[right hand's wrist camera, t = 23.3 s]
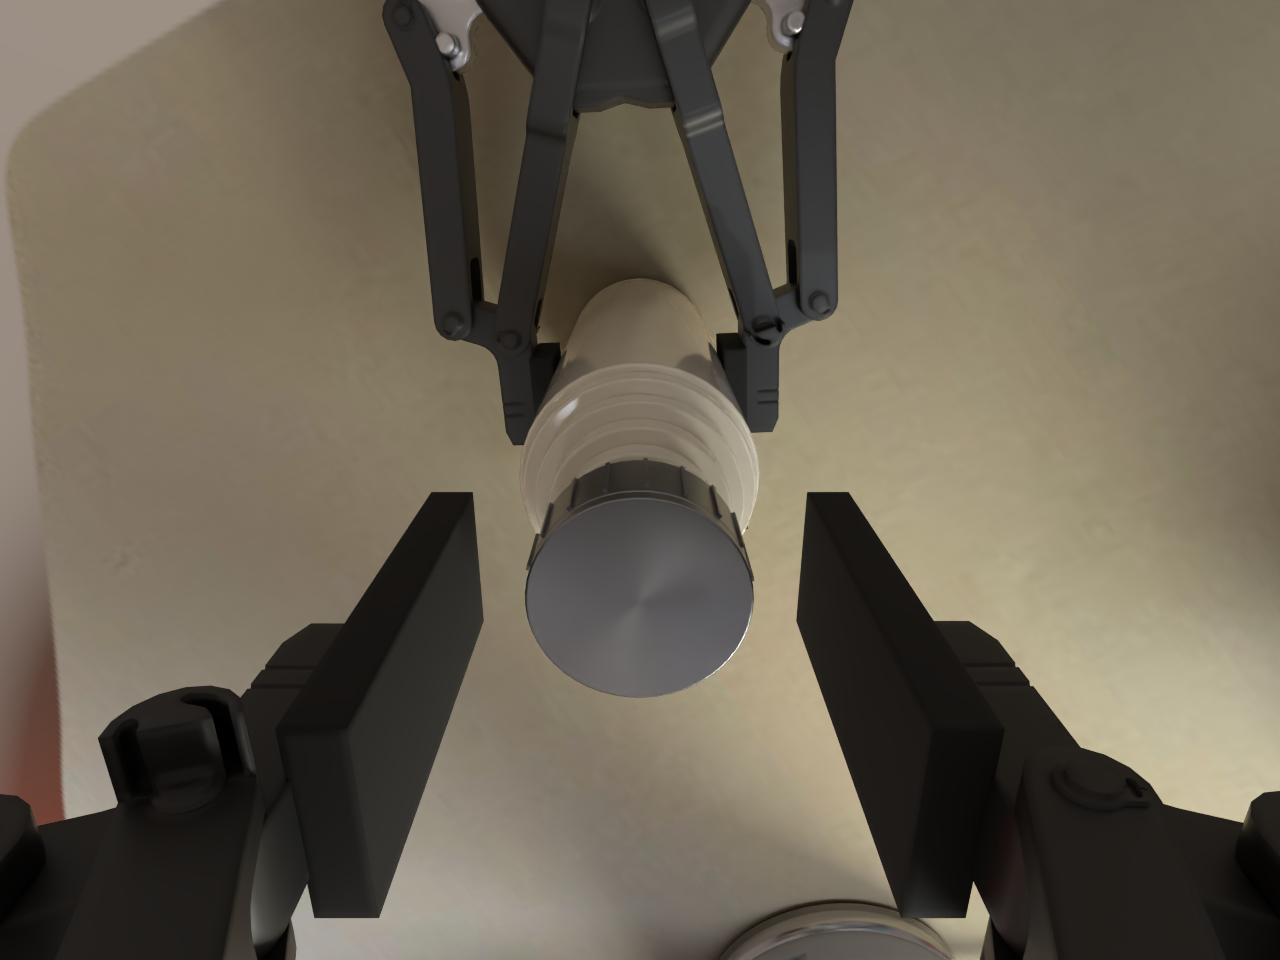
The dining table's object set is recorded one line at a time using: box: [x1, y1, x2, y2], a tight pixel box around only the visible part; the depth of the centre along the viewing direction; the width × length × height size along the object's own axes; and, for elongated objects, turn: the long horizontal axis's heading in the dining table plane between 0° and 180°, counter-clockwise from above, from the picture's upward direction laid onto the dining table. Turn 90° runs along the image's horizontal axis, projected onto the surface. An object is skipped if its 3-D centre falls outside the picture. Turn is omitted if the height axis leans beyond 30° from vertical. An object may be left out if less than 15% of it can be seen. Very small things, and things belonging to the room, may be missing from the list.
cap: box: [525, 458, 754, 697], centre depth 14 cm, size 4×4×2 cm
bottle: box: [520, 278, 760, 536], centre depth 23 cm, size 6×6×21 cm
